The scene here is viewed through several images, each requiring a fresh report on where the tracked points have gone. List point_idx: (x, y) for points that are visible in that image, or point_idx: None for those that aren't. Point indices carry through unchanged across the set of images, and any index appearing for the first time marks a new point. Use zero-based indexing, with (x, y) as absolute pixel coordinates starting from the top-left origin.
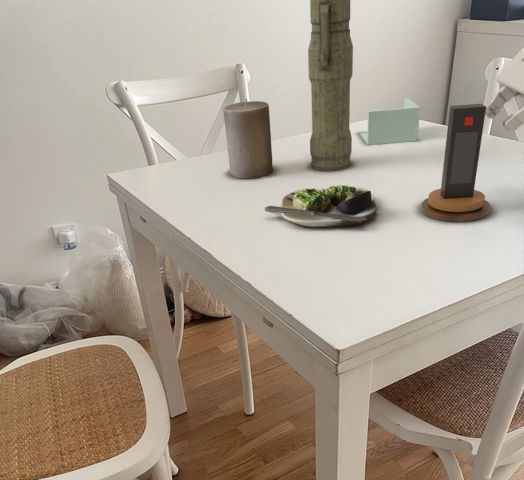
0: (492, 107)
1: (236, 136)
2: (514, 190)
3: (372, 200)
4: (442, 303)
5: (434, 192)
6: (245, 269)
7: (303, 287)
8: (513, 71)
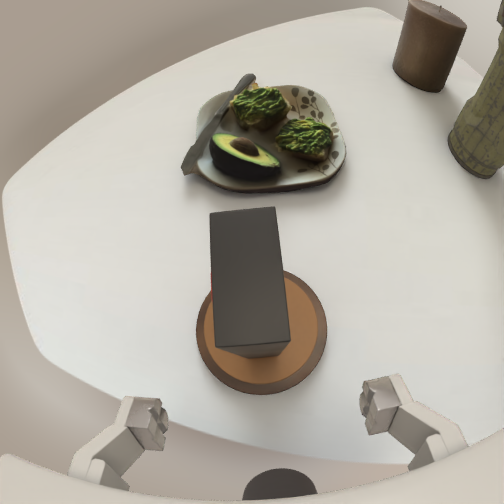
0: (373, 404)
1: (403, 24)
2: (363, 454)
3: (279, 183)
4: (13, 260)
5: (285, 286)
6: (120, 98)
7: (71, 146)
8: (487, 496)
